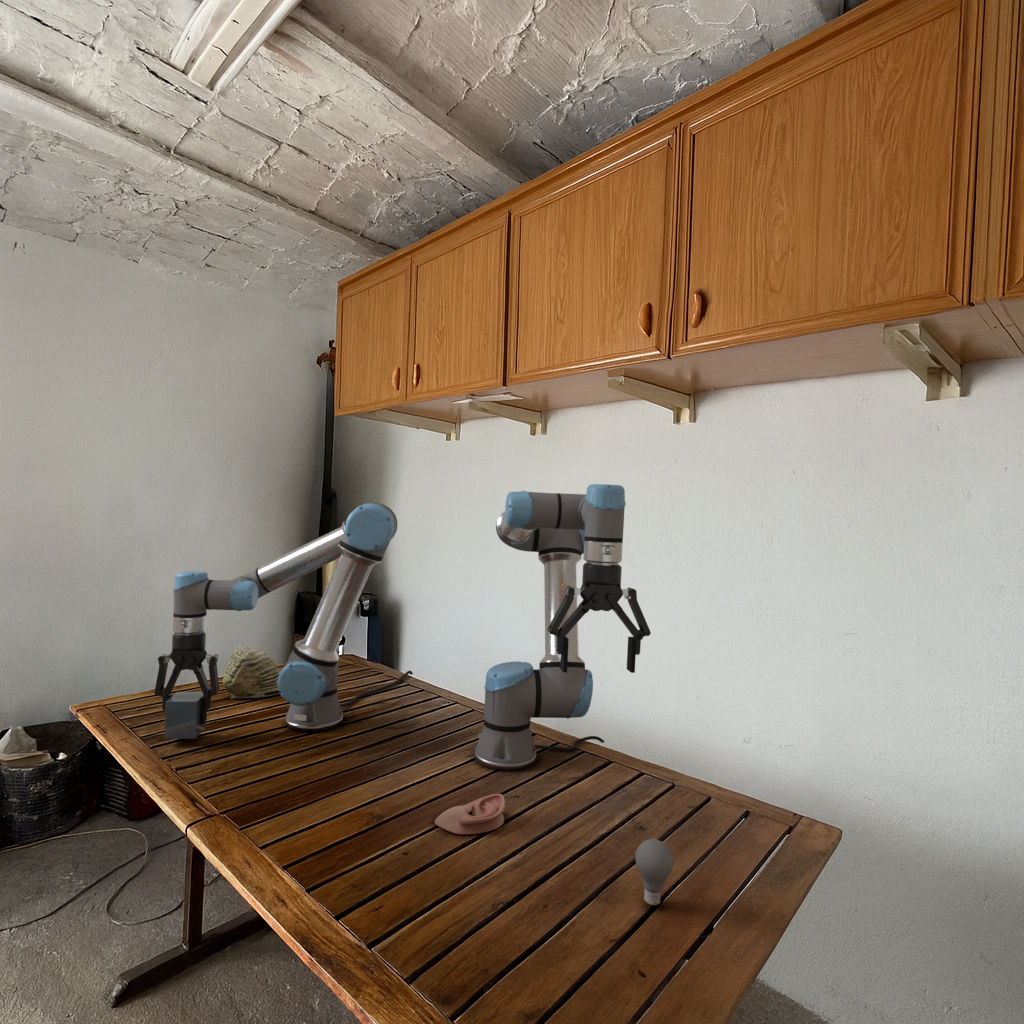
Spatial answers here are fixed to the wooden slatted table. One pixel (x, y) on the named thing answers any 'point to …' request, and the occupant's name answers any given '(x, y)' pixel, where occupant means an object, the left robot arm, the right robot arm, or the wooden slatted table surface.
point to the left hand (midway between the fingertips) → (186, 722)
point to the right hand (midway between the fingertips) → (597, 670)
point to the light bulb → (653, 868)
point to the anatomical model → (474, 816)
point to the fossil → (250, 674)
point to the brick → (183, 716)
